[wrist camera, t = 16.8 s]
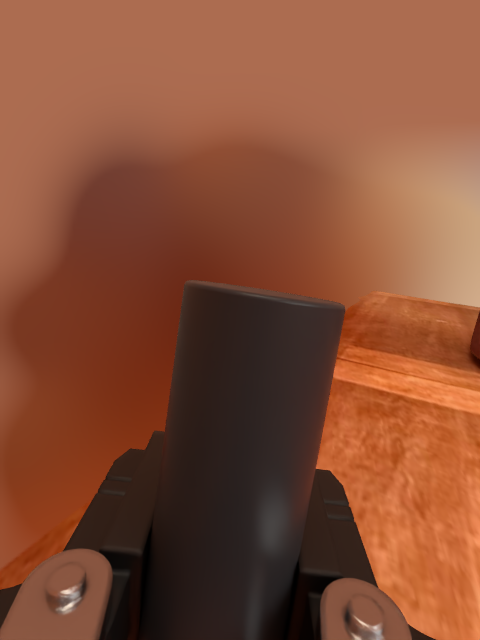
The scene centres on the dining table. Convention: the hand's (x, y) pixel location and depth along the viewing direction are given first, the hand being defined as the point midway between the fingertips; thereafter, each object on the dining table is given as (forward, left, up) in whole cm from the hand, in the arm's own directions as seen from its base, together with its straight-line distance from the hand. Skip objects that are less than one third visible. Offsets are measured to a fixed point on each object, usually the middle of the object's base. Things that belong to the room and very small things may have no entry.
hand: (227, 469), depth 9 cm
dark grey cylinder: (-3, -3, -7) cm, 8 cm away
